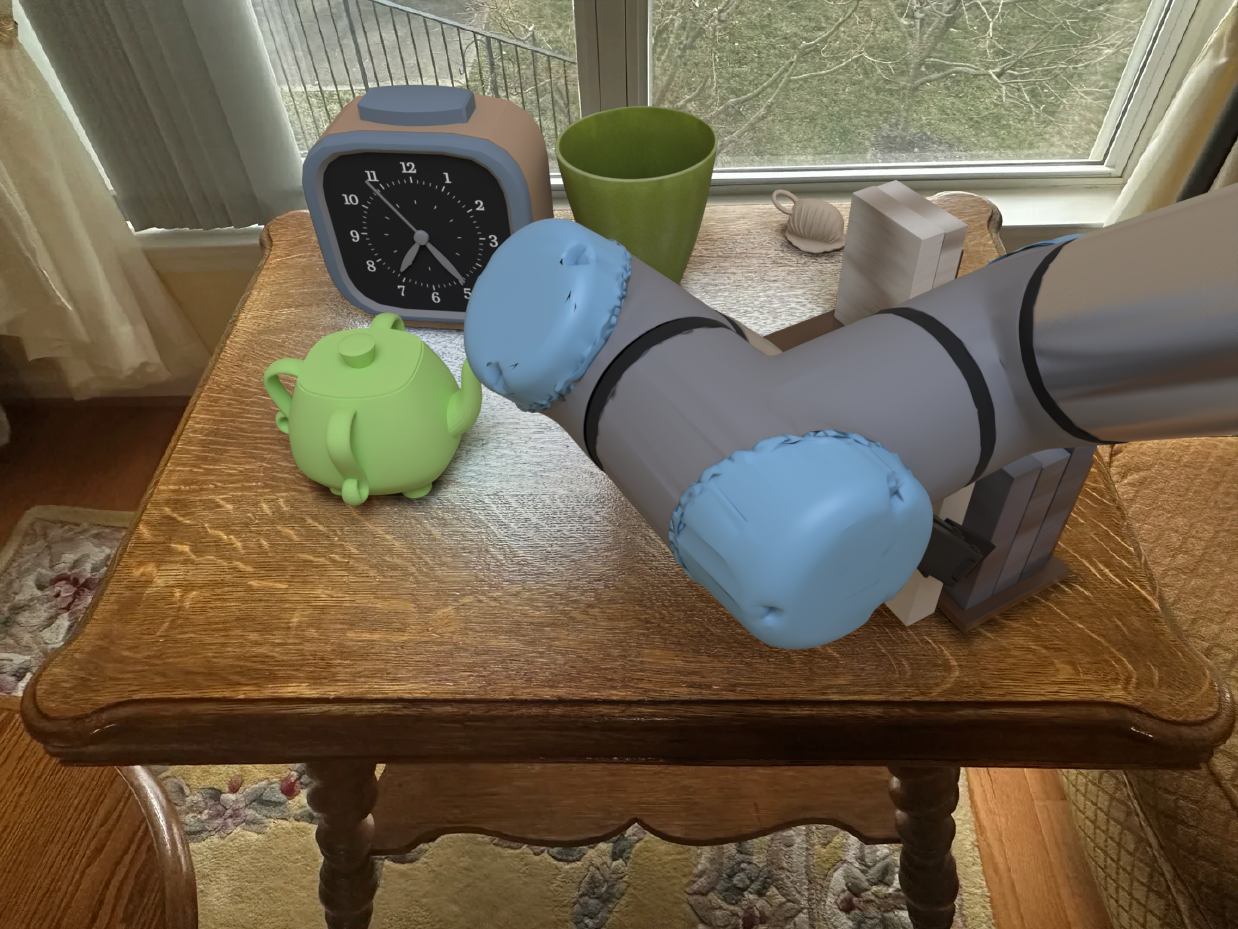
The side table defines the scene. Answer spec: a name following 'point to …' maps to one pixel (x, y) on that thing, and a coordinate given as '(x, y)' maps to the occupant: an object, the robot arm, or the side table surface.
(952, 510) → the white book
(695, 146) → the flower pot
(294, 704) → the side table surface
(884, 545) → the robot arm
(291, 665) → the side table surface
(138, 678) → the side table surface
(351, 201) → the alarm clock
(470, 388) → the teapot
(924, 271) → the beige and brown bookend
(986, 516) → the grey rack
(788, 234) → the decorative ornament
